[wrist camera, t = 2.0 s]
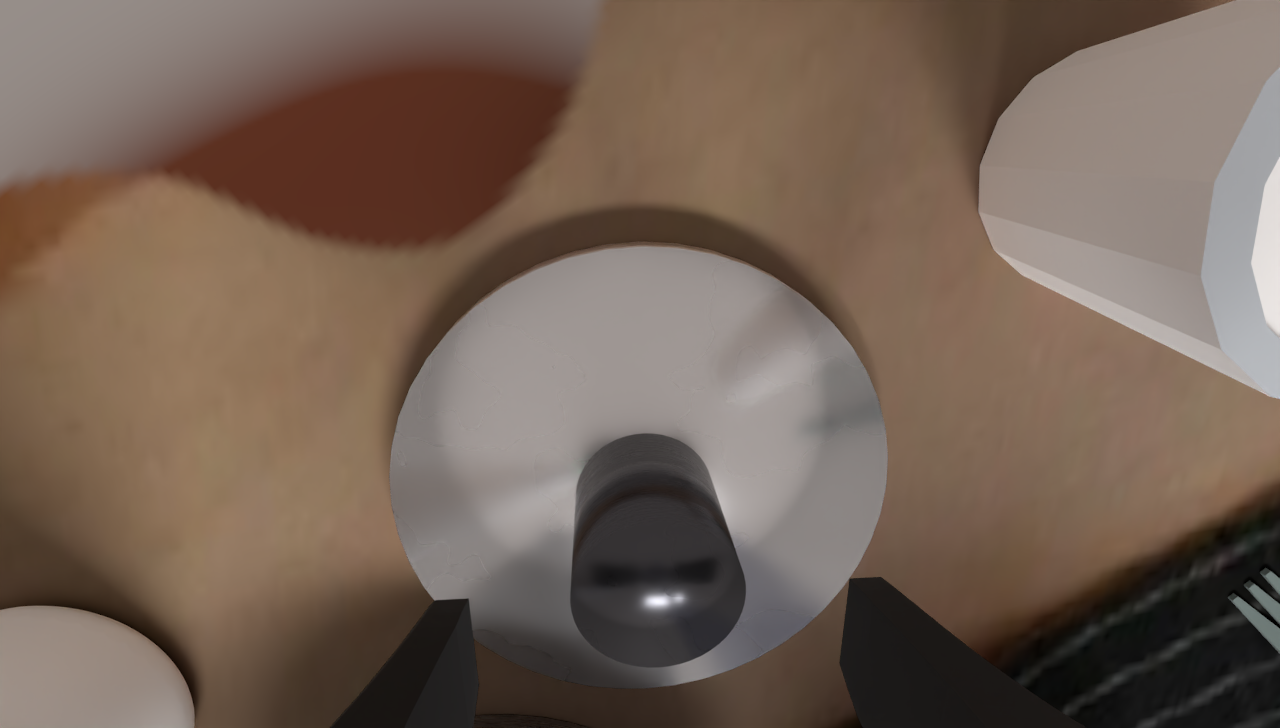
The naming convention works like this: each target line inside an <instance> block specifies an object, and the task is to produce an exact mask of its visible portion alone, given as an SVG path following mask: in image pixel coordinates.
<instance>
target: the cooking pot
mask: <svg viewBox="0 0 1280 728" xmlns="http://www.w3.org/2000/svg"><path fill="white" fill-rule="evenodd" d="M473 728H587V727H583V726H580V725H577V724H573V723H570V722H564V721H559V720H554V719H549V718H544V717H533V716H522V715H480V716H475V717H474V724H473Z"/></svg>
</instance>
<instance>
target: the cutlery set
mask: <svg viewBox="0 0 1280 728" xmlns="http://www.w3.org/2000/svg"><path fill="white" fill-rule="evenodd" d="M1260 573H1261V574H1262V576H1263V577H1264V578H1265V579H1266V580H1267V581H1268V582H1269V583H1270V585H1271V586H1272V587H1273V588H1274V589H1275V590H1276V591H1277V593H1278V594H1279V595H1280V578H1278V577H1277V576H1276V575H1275V574H1274V573H1272V572H1271V571H1270V570H1268V569H1267V568H1265V569H1264V570H1262V571H1261V572H1260ZM1244 586H1245V587H1246V588H1247V589H1248V590H1249V591H1250V593H1251V594H1252V595H1253V596H1254V597H1255V598H1256V599H1257V600H1258V601H1259V603H1260V604H1261V605H1262V606H1263V607H1264V608H1265V609H1266V610H1267V611H1268V612H1269V614H1270V615H1271V616H1272V617H1273V618H1274V619H1275V620H1276V621H1277V622H1278V624H1279V625H1280V604H1279V603H1278V602H1276V601H1275V600H1274V599H1273V598H1271V597H1270V596H1269V595H1268V594H1266V593H1265V592H1264V591H1263V590H1261V589H1260V588H1259V587H1258V586H1256V585H1255V584H1254V583H1252V582H1251V581H1250V580H1249V581H1248V582H1247V583H1245V584H1244ZM1228 598H1229V599H1230V600H1231V601H1232V602H1233V604H1234V605H1235V606H1236V607H1237V608H1238V609H1239V610H1240V611H1241V612H1242V613H1243V614H1244V615H1245V617H1246V618H1247V619H1248V620H1249V621H1250V622H1251V623H1252V624H1253V625H1254V626H1255V627H1256V628H1257V630H1258V631H1259V632H1260V633H1261V634H1262V635H1263V636H1264V637H1265V638H1266V639H1267V640H1268V641H1269V643H1270V644H1271V645H1272V646H1273V647H1274V648H1275V649H1276V650H1277V651H1278V653H1279V654H1280V629H1279V628H1278V627H1277V626H1276V625H1274V624H1273V623H1272V622H1270V621H1269V620H1268V619H1266V618H1265V617H1264V616H1263V615H1261V614H1260V613H1259V612H1257V611H1256V610H1255V609H1254V608H1252V607H1251V606H1250V605H1248V604H1247V603H1246V602H1245V601H1243V600H1242V599H1241V598H1240V597H1238V596H1237V595H1236V594H1234V593H1233V594H1231V595H1230V596H1229V597H1228Z"/></svg>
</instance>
